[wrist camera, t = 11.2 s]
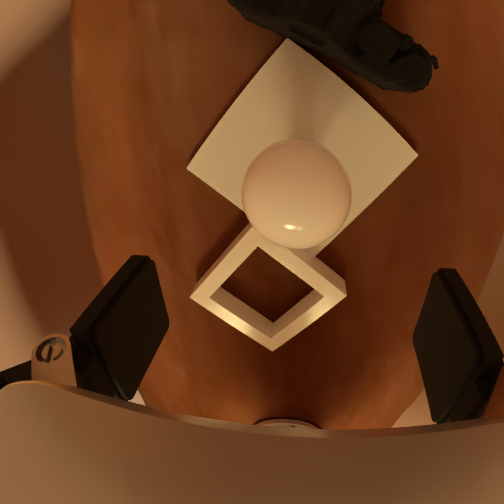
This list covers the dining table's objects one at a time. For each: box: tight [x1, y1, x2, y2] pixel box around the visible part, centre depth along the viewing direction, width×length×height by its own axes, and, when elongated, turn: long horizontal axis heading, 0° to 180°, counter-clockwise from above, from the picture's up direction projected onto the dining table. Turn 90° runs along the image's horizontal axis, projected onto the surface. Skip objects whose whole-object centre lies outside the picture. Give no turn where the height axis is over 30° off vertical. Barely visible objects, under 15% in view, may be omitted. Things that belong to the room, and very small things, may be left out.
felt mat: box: [186, 38, 418, 258], centre depth 25 cm, size 14×14×1 cm
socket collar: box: [190, 222, 347, 351], centre depth 31 cm, size 11×11×2 cm
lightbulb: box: [241, 139, 352, 249], centre depth 20 cm, size 6×6×11 cm
